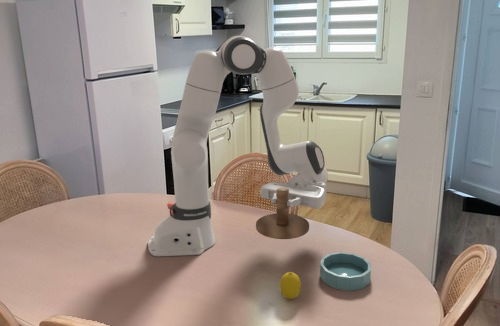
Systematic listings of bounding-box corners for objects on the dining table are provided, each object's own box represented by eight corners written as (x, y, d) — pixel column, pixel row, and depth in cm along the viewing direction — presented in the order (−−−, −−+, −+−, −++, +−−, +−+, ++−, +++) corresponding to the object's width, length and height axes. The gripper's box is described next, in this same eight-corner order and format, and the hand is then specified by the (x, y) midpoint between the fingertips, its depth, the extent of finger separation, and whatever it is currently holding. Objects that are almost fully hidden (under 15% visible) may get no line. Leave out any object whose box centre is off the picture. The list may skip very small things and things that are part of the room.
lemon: (299, 306, 114) (300, 279, 112) (278, 303, 115) (278, 276, 113) (301, 294, 119) (302, 267, 117) (281, 291, 120) (281, 266, 118)
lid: (264, 242, 123) (264, 202, 119) (249, 219, 138) (249, 183, 134) (317, 235, 127) (319, 196, 123) (297, 213, 142) (298, 178, 138)
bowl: (333, 293, 119) (333, 280, 118) (313, 268, 132) (313, 256, 131) (379, 285, 122) (380, 273, 121) (355, 261, 135) (356, 249, 134)
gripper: (271, 174, 145) (250, 187, 133) (330, 184, 135) (313, 199, 123) (271, 192, 146) (250, 206, 135) (330, 203, 137) (313, 219, 125)
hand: (281, 203), depth 129 cm, fingers closed on lid, 4 cm apart
